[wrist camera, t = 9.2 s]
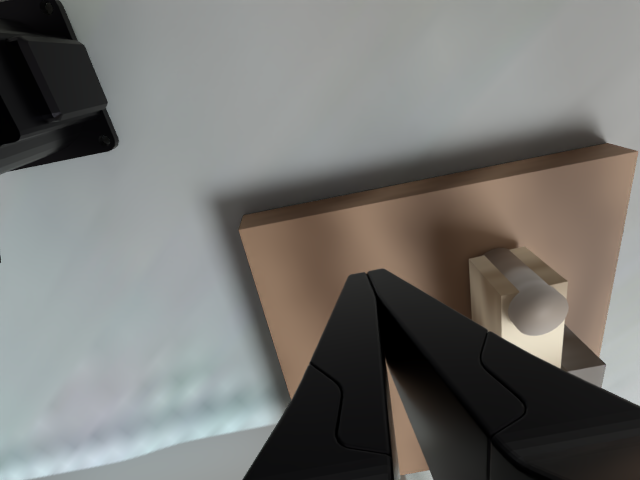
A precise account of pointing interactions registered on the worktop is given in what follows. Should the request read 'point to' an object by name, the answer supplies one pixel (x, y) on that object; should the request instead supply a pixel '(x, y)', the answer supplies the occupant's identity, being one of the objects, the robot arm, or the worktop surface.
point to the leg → (520, 300)
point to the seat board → (447, 251)
